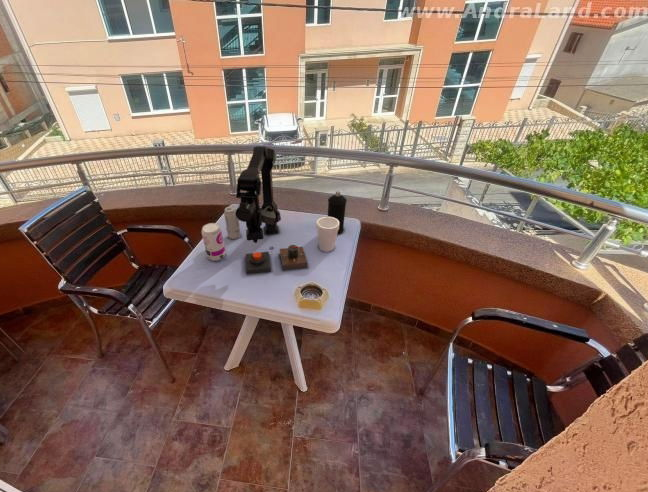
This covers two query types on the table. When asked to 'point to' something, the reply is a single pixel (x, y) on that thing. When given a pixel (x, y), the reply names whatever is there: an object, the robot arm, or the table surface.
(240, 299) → the table surface
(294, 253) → the dial
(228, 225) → the energy drink can
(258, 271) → the push button box
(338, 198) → the aerosol can
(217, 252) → the supplement can
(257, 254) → the power button
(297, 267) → the dial panel
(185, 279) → the table surface
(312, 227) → the table surface
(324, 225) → the foam cup
